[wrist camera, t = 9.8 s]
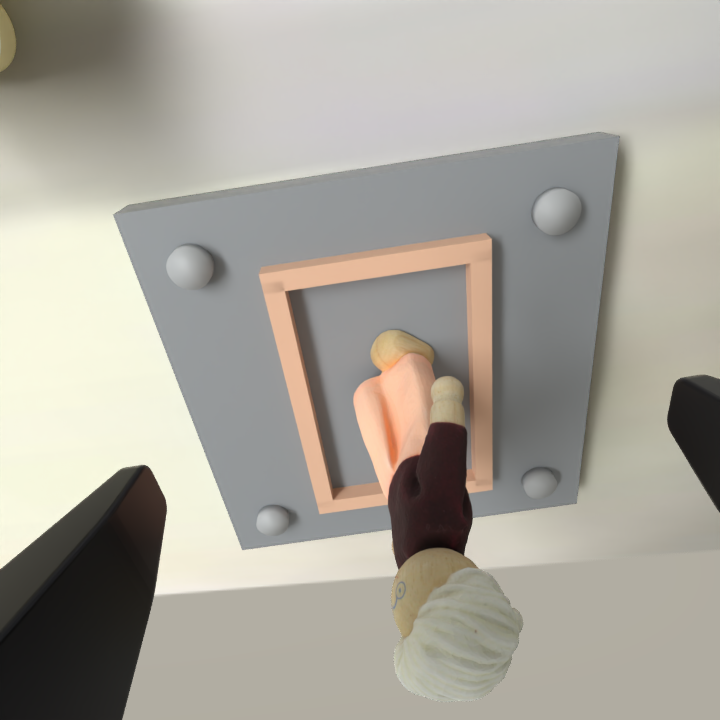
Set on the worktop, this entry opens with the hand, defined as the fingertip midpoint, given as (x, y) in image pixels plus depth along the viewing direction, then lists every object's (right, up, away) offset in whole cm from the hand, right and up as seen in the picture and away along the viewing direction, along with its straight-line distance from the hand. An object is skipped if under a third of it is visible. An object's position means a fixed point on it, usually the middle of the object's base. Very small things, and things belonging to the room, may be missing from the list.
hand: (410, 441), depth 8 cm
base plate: (0, +1, +15) cm, 15 cm away
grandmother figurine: (+1, 0, +14) cm, 14 cm away
